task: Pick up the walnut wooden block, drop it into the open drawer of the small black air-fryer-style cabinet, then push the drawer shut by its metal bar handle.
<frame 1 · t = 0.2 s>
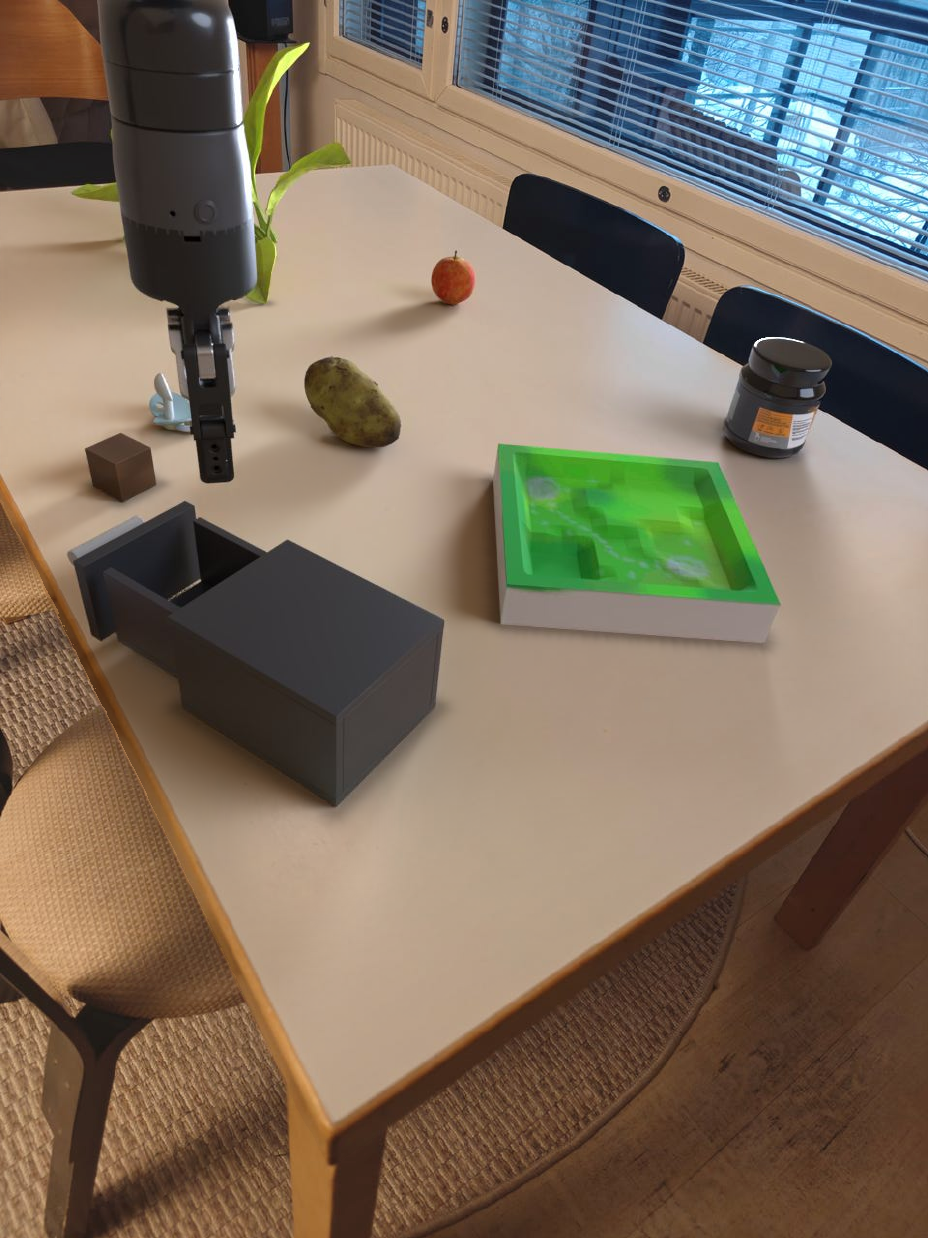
hand: (212, 448, 61), 19 cm above the table, tool pointing down, fingers open, 8 cm apart
potato: (350, 434, 103), on the table
block: (124, 485, 90), on the table
pacifier: (179, 424, 101), on the table
tray: (614, 557, 90), on the table
drawer: (181, 591, 71), point 5 cm above the table, slide at 10.0 cm
artificial plant: (219, 261, 142), on the table
supplement container: (760, 442, 112), on the table
cabinet: (311, 708, 69), on the table
fruit: (451, 303, 138), on the table
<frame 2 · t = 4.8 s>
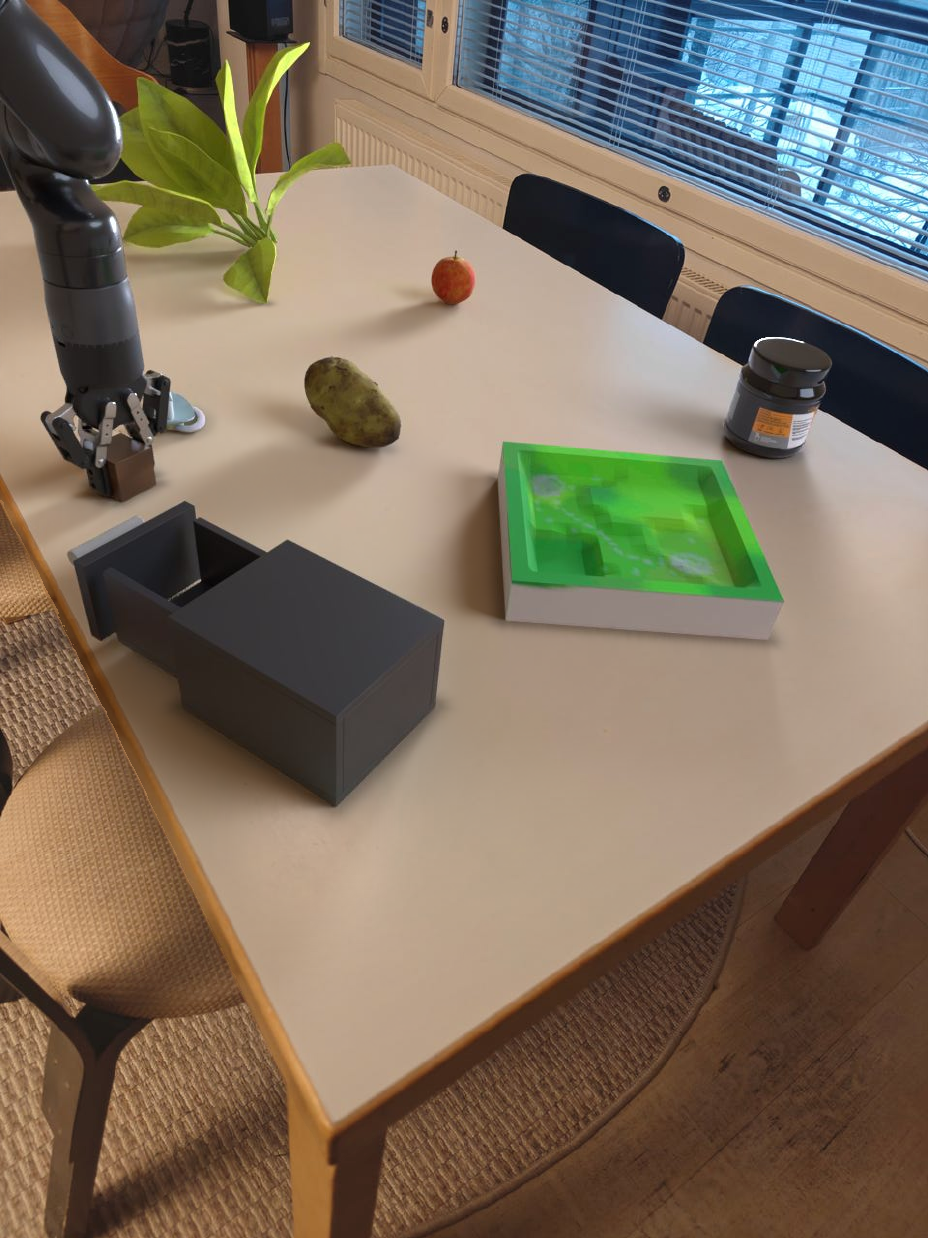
hand: (124, 482, 90), 0 cm above the table, tool pointing down, fingers closed on block, 4 cm apart
block: (124, 485, 90), on the table, touching gripper
everything else where it was.
when the fingers open (8 cm above the table, at t = 11.4 s): block drops 6 cm, resting on drawer.
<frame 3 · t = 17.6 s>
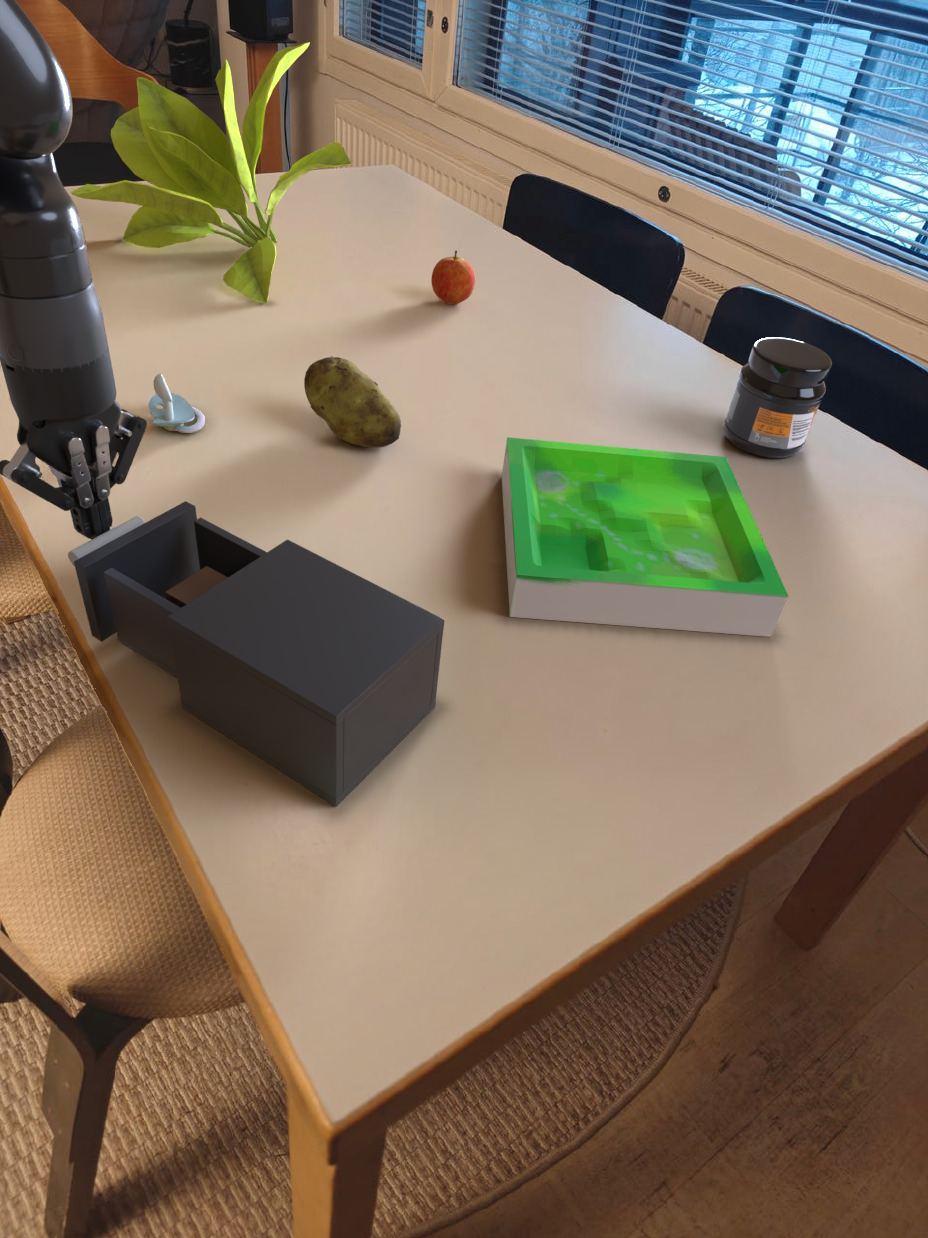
hand: (95, 534, 74), 6 cm above the table, tool pointing down, fingers closed
block: (211, 631, 72), point 2 cm above the table, touching drawer
drawer: (181, 591, 71), point 5 cm above the table, slide at 9.9 cm, touching block, gripper
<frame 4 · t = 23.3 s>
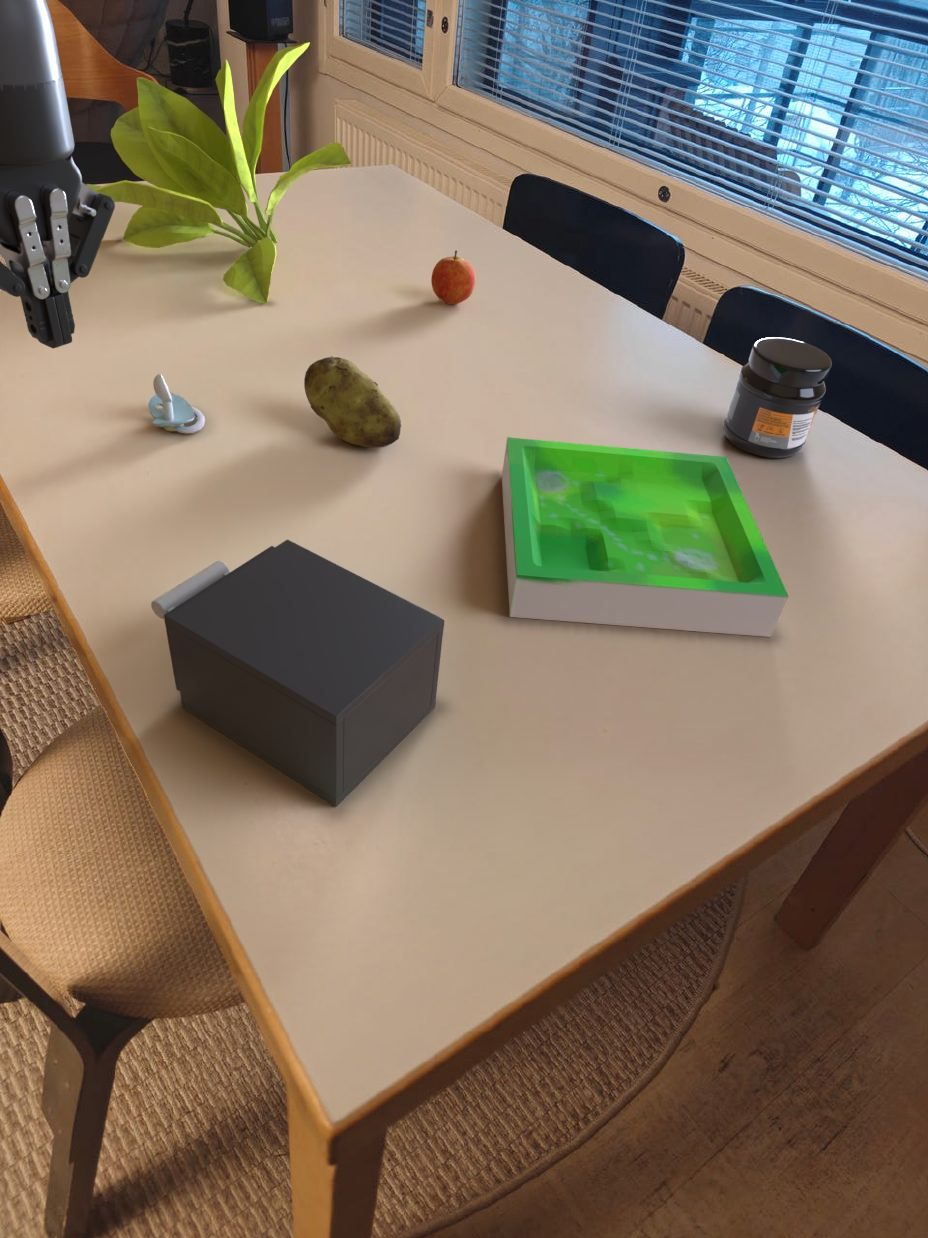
hand: (54, 342, 63), 23 cm above the table, tool pointing down, fingers closed
block: (302, 684, 68), point 2 cm above the table, touching drawer
drawer: (271, 643, 67), point 5 cm above the table, slide at 0.0 cm, touching block
at the end: block inside the target area in the cabinet (1.0 cm from its centre), point 2.0 cm above the cabinet's base; drawer slide at 0.0 cm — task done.
